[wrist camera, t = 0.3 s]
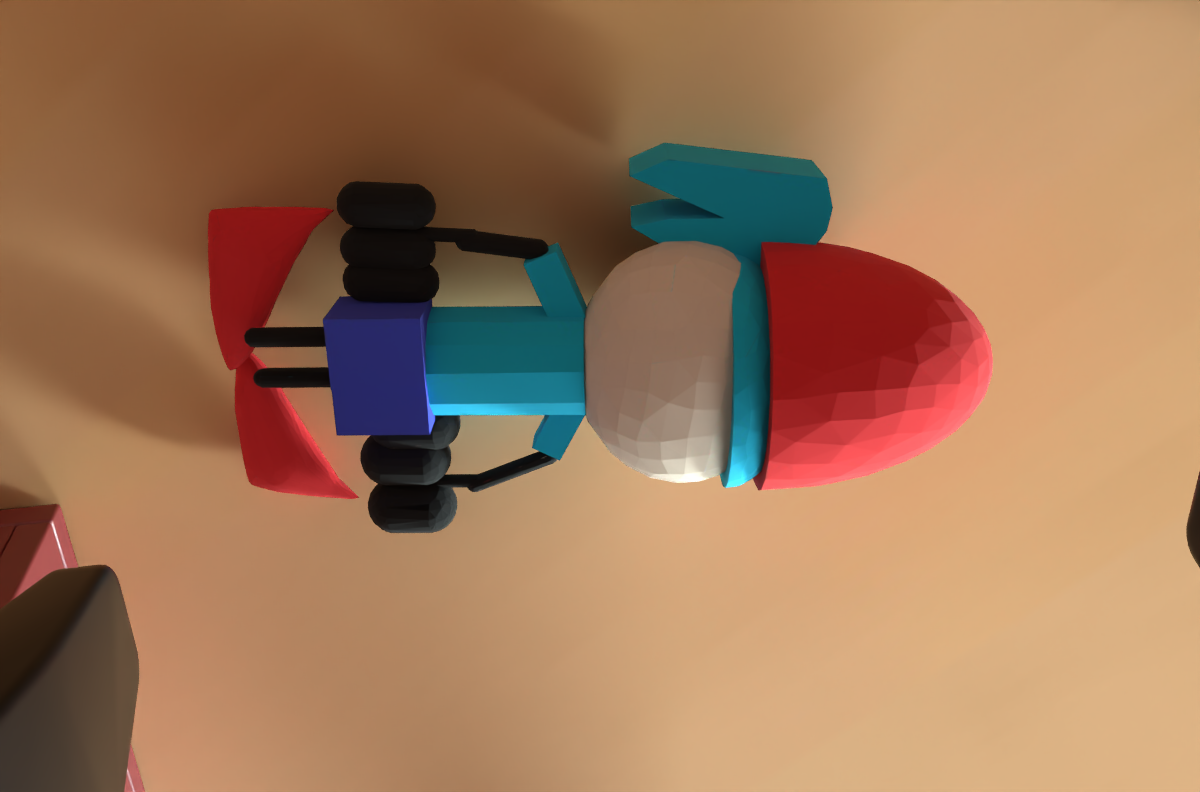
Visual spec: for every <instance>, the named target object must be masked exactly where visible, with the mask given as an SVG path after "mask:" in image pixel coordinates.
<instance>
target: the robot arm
mask: <svg viewBox="0 0 1200 792" xmlns="http://www.w3.org/2000/svg"><path fill="white" fill-rule="evenodd" d="M1187 541H1188V546H1189V549H1190V551H1191V554H1192V556H1193V558H1194V559H1195V561H1196V563H1197V564H1198V566H1199V568H1200V472H1199V476H1198V480H1197V484H1196V489H1195V493H1194V497H1193V501H1192V505H1191V509H1190V514H1189V518H1188V522H1187ZM138 684H139V659H138V652H137V647H136V644H135V640H134V636H133V632H132V628H131V625H130V621H129V617H128V613H127V609H126V606H125V602H124V598H123V594H122V590H121V587H120V583H119V580H118V578H117V576H116V574H115V572H114V571H113V570H112V569H111V568H110V567H108V566H106V565H93V566H83V567H74V568H65V569H58V570H55V571H52V572H50V573H49V574H47V575H46V576H44V577H43V578H42V579H40V580H39V581H38V582H36V583H35V584H34V585H32V586H31V587H29V588H28V589H27V590H25V591H24V592H23V593H21V594H20V595H19V596H17V597H16V598H14V599H13V600H12V601H10V602H9V603H8V604H6V605H5V606H4V607H2V608H1V609H0V792H124V789H125V782H126V774H127V767H128V759H129V752H130V744H131V737H132V729H133V722H134V714H135V707H136V699H137V692H138Z"/></svg>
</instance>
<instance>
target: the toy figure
mask: <svg viewBox="0 0 1200 792" xmlns="http://www.w3.org/2000/svg"><path fill="white" fill-rule="evenodd" d="M629 175H630V177H633V178H635V179H637V180H639V181H642V182H644V183H646V184H648V185H651V186H653V187H655V188H657V189H660V190H662V191H664V192H666V193H669V194H671V195H673V196H675V197H678V198H680V199H661V200H657V201H652V202H648V203H643V204H639V205H634V206H630V207H631V227H632V228H633V229H635V230H637V231H639V232H640V233H642V234H644V235H645V236H647V237H649V238H651V239H652V240H654V241H656V242H657V243H659V244H657V245H654V246H651V247H648V248H646V249H643V250H640V251H638V252H636V253H634V254H633V255H631V256H630V257H628V258H627V259H625V260H624V261H622V262H621V263H619V264H618V265H616V266H615V267H614V269H613V270H612V271H611V273H610V274H609V275H608V276H607V278H606V279H605V280H604V282H603V283H602V284H601V285H600V287H599V288H598V289H597V291H596V292H595V293H594V294H593V296H592V298H591V300H590V302H589V304H588V306H586V304H585V302H584V299H583V297H582V295H581V293H580V290H579V288H578V286H577V284H576V281H575V279H574V277H573V275H572V272H571V270H570V268H569V266H568V263H567V261H566V259H565V257H564V255H563V252H562V250H561V248H560V246H559V243H555V244H553V245H550V246H548V245H547V244H546V243H545V242H544V241H543V240H541V239H533V238H525V237H518V236H510V235H503V234H495V233H488V232H480V231H476V230H475V229H458V228H434V227H425V226H426V225H427V224H428V223H430V221H431V220H432V219H433V217H434V214H435V209H436V204H435V201H434V197H433V195H432V194H431V192H429V191H428V190H427V189H426V188H425V187H423V186H421V185H419V184H405V183H381V182H359V181H356V182H351V183H349V184H347V185H346V186H344V187H343V188H342V189H341V191H340V192H339V194H338V197H337V210H338V213H339V215H340V216H341V218H342V219H343V220H344V221H345V222H346V223H347V224H349V225H352V226H353V227H351V228H350V229H349V230H347V231H346V232H345V233H344V235H343V236H342V238H341V242H340V251H341V254H342V257H343V258H344V260H345V262H346V263H348V264H349V265H348V266H347V267H346V269H345V271H344V274H343V284H344V288H345V290H346V292H347V293H348V294H349V295H350V296H345V297H339V299H338V300H337V301H336V303H335V304H334V305H333V307H332V308H331V309H330V311H329V312H328V313H327V315H326V316H325V317H324V319H323V325H324V327H268V328H265V325H266V323H267V321H268V318H269V316H270V314H271V312H272V309H273V307H274V304H275V302H276V300H277V297H278V295H279V293H280V291H281V289H282V287H283V284H284V282H285V280H286V278H287V276H288V274H289V272H290V270H291V268H292V265H293V263H294V262H295V260H296V258H297V256H298V255H299V253H300V252H301V250H302V248H303V247H304V245H305V243H306V241H307V239H308V237H309V235H310V234H311V232H312V231H313V229H314V228H315V227H316V226H317V225H318V224H320V223H321V222H322V221H323V220H324V219H325V218H326V217H327V216H328V215H329V214H330V213H332V212H333V211H334V210H332V209H328V208H308V207H257V206H256V207H239V208H224V209H214V210H211V211H210V213H209V222H208V262H209V278H210V302H211V310H212V315H213V320H214V325H215V330H216V335H217V338H218V342H219V345H220V349H221V352H222V355H223V358H224V360H225V363H226V365H227V367H228V368H229V370H233V369H236V381H235V413H236V419H237V426H238V432H239V437H240V443H241V449H242V454H243V460H244V464H245V468H246V473H247V477H248V480H249V482H250V483H251V484H252V485H254V486H257V487H261V488H264V489H268V490H272V491H276V492H282V493H291V494H299V495H308V496H318V497H331V498H345V499H355V498H359V497H358V496H357V495H356V494H355V493H354V492H353V491H352V490H351V489H350V488H349V487H348V486H347V485H346V484H345V483H344V482H342V481H341V480H340V479H339V478H338V476H337V475H336V473H335V472H334V470H333V469H332V467H331V466H330V464H329V463H328V461H327V460H326V458H325V457H324V455H323V454H322V452H321V451H320V449H319V448H318V446H317V445H316V443H315V442H314V440H313V438H312V437H311V435H310V434H309V432H308V431H307V429H306V427H305V426H304V424H303V423H302V421H301V419H300V418H299V416H298V415H297V413H296V412H295V410H294V408H293V407H292V405H291V403H290V402H289V400H288V399H287V397H286V396H285V394H284V392H283V391H282V389H281V388H304V387H331V390H332V397H333V406H334V415H335V424H336V432H337V435H371V436H370V437H369V438H368V439H367V440H366V442H365V443H364V444H363V447H362V450H361V464H362V467H363V470H364V472H365V473H366V474H367V476H368V477H369V478H370V479H371V480H373V481H374V482H376V483H378V484H377V486H376V487H375V488H374V489H373V491H372V492H371V494H370V497H369V501H368V510H369V514H370V517H371V518H372V520H373V522H374V523H375V524H376V525H377V526H379V527H380V528H381V529H382V530H385V531H386V532H390V533H433V532H437V531H440V530H442V529H443V528H445V527H447V526H448V525H449V524H450V523H451V522H452V520H453V518H454V516H455V514H456V510H457V497H456V494H455V493H454V491H453V489H452V488H451V487H467V488H468V489H469V490H470V491H472V492H478V491H481V490H483V489H486V488H489V487H491V486H494V485H497V484H499V483H502V482H505V481H507V480H510V479H513V478H515V477H518V476H521V475H523V474H526V473H529V472H531V471H534V470H537V469H539V468H542V467H545V466H547V465H550V464H553V463H554V462H556V460H560V459H561V458H562V456H563V454H564V452H565V450H566V449H567V447H568V445H569V443H570V441H571V439H572V438H573V436H574V434H575V432H576V430H577V429H578V427H579V425H580V423H581V421H582V419H583V418H584V416H585V415H586V416H587V420H588V422H589V423H590V425H591V426H592V428H593V429H594V430H595V432H596V433H597V435H598V436H599V437H600V439H601V440H602V441H603V443H604V444H605V446H606V447H607V448H608V450H609V451H610V452H611V453H612V454H613V455H614V456H615V457H617V458H618V459H619V460H620V461H622V462H623V463H624V464H625V465H626V466H628V467H630V468H632V469H634V470H636V471H638V472H640V473H642V474H644V475H646V476H648V477H650V478H655V479H660V480H665V481H670V482H675V483H682V482H697V481H701V480H705V479H708V478H711V477H715V476H718V475H720V477H721V481H722V485H723V486H724V487H725V488H727V487H735V486H740V485H741V484H743V483H745V482H747V481H749V480H751V479H752V478H753V479H754V482H755V484H756V486H757V488H758V490H768V489H783V488H797V487H811V486H819V485H825V484H830V483H835V482H840V481H844V480H849V479H853V478H858V477H862V476H867V475H870V474H873V473H875V472H878V471H881V470H883V469H886V468H889V467H891V466H894V465H897V464H899V463H902V462H905V461H907V460H909V459H911V458H913V457H915V456H917V455H919V454H921V453H923V452H925V451H927V450H929V449H931V448H932V447H934V446H935V445H936V444H938V443H939V442H941V441H942V440H944V439H945V438H946V437H948V436H949V435H951V434H952V433H953V432H955V431H956V430H957V429H958V428H959V427H960V426H961V425H962V424H963V423H964V422H965V421H966V420H967V419H968V418H969V417H970V416H971V414H972V413H973V412H974V410H975V409H976V408H977V406H978V405H979V404H980V402H981V401H982V400H983V398H984V396H985V394H986V391H987V389H988V385H989V382H990V379H991V376H992V366H993V358H992V350H991V344H990V342H989V339H988V337H987V334H986V332H985V330H984V328H983V326H982V325H981V323H980V322H979V320H978V319H977V317H976V316H975V314H974V313H973V312H972V311H971V310H970V309H969V308H968V307H967V306H966V305H965V304H964V303H963V302H962V301H961V300H960V299H959V298H958V297H957V296H956V295H955V294H954V293H952V292H951V291H950V290H948V289H947V288H946V287H944V286H943V285H942V284H940V283H939V282H938V281H936V280H935V279H933V278H931V277H929V276H927V275H925V274H923V273H921V272H919V271H918V270H916V269H914V268H912V267H910V266H907V265H905V264H902V263H899V262H896V261H893V260H890V259H887V258H884V257H882V256H879V255H876V254H873V253H869V252H865V251H861V250H857V249H854V248H850V247H845V246H838V245H832V244H825V243H819V242H818V241H819V240H820V239H821V238H822V236H823V235H824V234H825V233H826V231H827V228H828V224H829V220H830V216H831V212H832V208H833V207H832V202H831V197H830V192H829V187H828V182H827V178H826V177H825V176H824V174H823V173H822V172H821V171H820V170H819V168H818V167H817V166H816V165H815V163H814V162H813V161H812V160H806V159H798V158H789V157H781V156H773V155H764V154H756V153H747V152H739V151H731V150H722V149H714V148H705V147H697V146H688V145H680V144H672V143H663V144H660V145H658V146H656V147H654V148H651V149H649V150H647V151H645V152H642V153H640V154H638V155H636V156H634V157H631V158H629ZM434 241H437V242H455V244H456V245H457V247H458V248H459V249H461V250H462V251H469V252H477V253H485V254H492V255H500V256H508V257H515V258H523V259H525V261H524V267H525V269H526V272H527V274H528V276H529V278H530V280H531V282H532V285H533V287H534V289H535V291H536V293H537V295H538V298H539V300H540V302H541V304H542V306H507V307H432V298H433V297H435V295H436V293H437V291H438V289H439V277H438V273H437V271H436V270H435V268H434V267H433V266H432V265H430V264H431V263H432V261H433V259H434V258H435V253H436V248H435V243H434ZM255 347H326V351H327V360H328V367H319V368H267V367H266V365H265V364H264V363H263V362H262V361H261V360H260V359H259V358H258V357H257V356H256V355H254V354H253V353H252V352H253V350H254V348H255ZM460 415H545V416H544V418H543V420H542V422H541V424H540V425H539V427H538V429H537V431H536V433H535V435H534V440H533V446H532V448H534V449H536V450H538V451H539V452H536V453H534V454H531V455H528V456H526V457H523V458H520V459H518V460H515V461H512V462H510V463H507V464H504V465H502V466H499V467H496V468H494V469H491V470H488V471H486V472H483V473H480V474H450V475H445V473H446V472H447V470H448V468H449V466H450V463H451V451H450V447H449V444H450V443H452V442H453V441H454V439H455V438H456V437H457V435H458V432H459V429H460Z"/></svg>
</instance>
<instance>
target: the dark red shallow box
mask: <svg viewBox="0 0 1200 792" xmlns="http://www.w3.org/2000/svg"><path fill="white" fill-rule="evenodd" d="M74 567H78V564H77V561H76V558H75V554H74V551H73V548H72V544H71V541H70V537H69V534H68V531H67V527H66V524H65V521H64V517H63V514H62V510H61V507H60V505H59V504H51V505H42V506H33V507H24V508H15V509H5V510H0V609H1V608H2V607H4V606H5V605H6V604H8V603H9V602H10V601H12V600H13V599H14V598H16V597H17V596H19V595H20V594H21V593H23V592H24V591H25V590H27V589H28V588H29V587H31V586H32V585H34V584H35V583H36V582H38V581H39V580H40V579H42V578H43V577H44V576H46V575H47V574H49V573H50V572H52V571H55V570H58V569H65V568H74ZM124 792H145V790H144V787H143V783H142V780H141V777H140V773H139V770H138V767H137V763H136V760H135V756H134V753H133V750H132V746H131V744H130V752H129V759H128V767H127V774H126V782H125V789H124Z"/></svg>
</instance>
